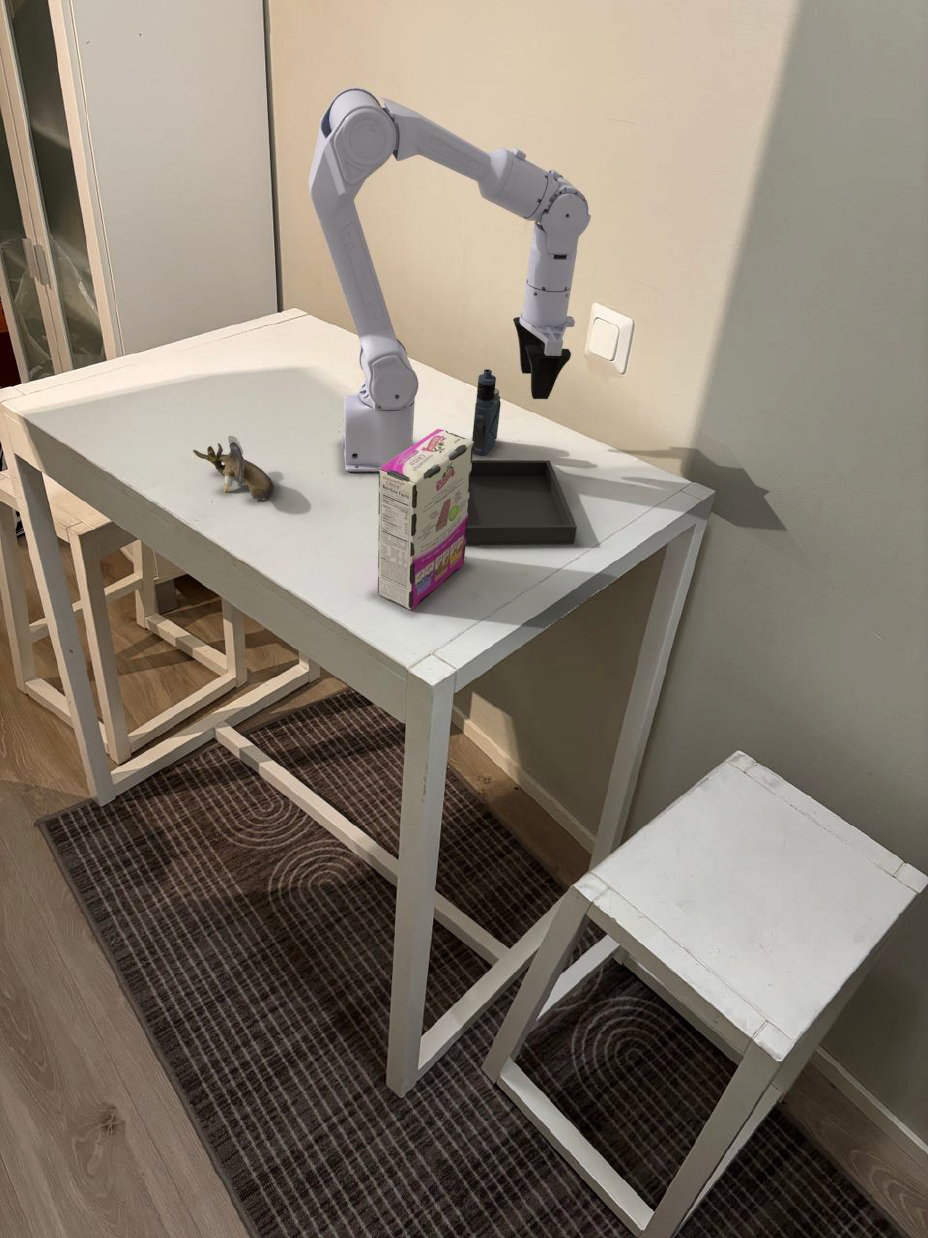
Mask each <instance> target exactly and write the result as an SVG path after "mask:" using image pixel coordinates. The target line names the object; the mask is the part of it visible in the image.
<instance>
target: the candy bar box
mask: <svg viewBox="0 0 928 1238" xmlns="http://www.w3.org/2000/svg"><path fill="white" fill-rule="evenodd" d="M473 443H474V441H472V439H468V438H466V437H462V436H460V435H458V434H456V433H452V432H449V431H448V430H445V429H441V428H437V429H435V430H434V431H431V433H429V434H428V435H426V436H425V437H423V438H422V439H420V440H419V441H417V442H416V443H414V444H413V446H411V447H410V448H408V449H407V450H405V451H404V452H402V453H401V454H399V455H398V456H396V457H395V458H393V459H392V460H390V461H389V462H387V463H386V464H384V465H383V466H381V467H380V468H379V471H378V541H377V544H378V545H377V548H378V550H377V553H378V554H377V555H378V556H377V595H378V596H379V597H381V598H383V599H384V600H387V601H390V602H392V603H393V604H394V603H395V604H397V605H398V606H400V607H402V608H405V609H407V610H409V611H412V610H414V609H415V608H416V607H417V606H419V605H420V604H421V603H422V602H423V601H425V599H427V598H428V597H429V596H430V595H431V594H432V593H433V592H434V591H435V590H437V589H438V588H439V587H440V586H441V585H442V584H443V583H444V582H446V581H447V580H448V579H449V578H451V577H452V576H453V575H454V574H455V573H456V572H457V571H459V570H460V569H461V568H462V567H464V565H465V558H466V557H465V556H466V545H465V544H466V531H467V518H468V503H469V494H470V479H471V468H472V460H473V454H474V453H473Z"/></svg>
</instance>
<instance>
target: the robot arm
mask: <svg viewBox="0 0 928 1238" xmlns="http://www.w3.org/2000/svg"><path fill="white" fill-rule="evenodd" d="M379 98H380V100H381V101H382V102H383V105H384V106H385V107H382V106H381V103H380V101H379V100H378V99H377V98H376V96H375V95H374V94H373V93H371V92H370V91H368V90H367V89H365V88H361V87H355V86H353V87H348V88H345V89H343V90H341V91H340V92H338V93H337V94H336V95H335V96H334V97H333V98H332V100H331V102H330V103H329V105H328V106H327V108H326V109H325V111H324V112H323V114H322V115H321V117H320V119H319V123H318V134H317V140H316V144H315V150H314V154H313V157H312V161H311V162H312V163H311V166H310V171H309V176H308V182H307V185H308V192H309V195H310V199H311V201H312V204H313V207H314V210H315V213H316V215H317V219H318V221H319V225H320V228H321V230H322V234H323V236H324V239H325V242H326V245H327V249H328V252H329V255H330V257H331V260H332V263H333V267H334V269H335V272H336V276H337V278H338V281H339V284H340V286H341V290H342V293H343V296H344V299H345V303H346V305H347V307H348V310H349V314H350V316H351V320H352V322H353V325H354V328H355V331H356V335H357V337H358V340H359V343H360V344H359V345H360V348H359V354H358V362H359V366H360V369H361V371H362V373H363V375H364V378H365V380H364V381H363V383H362V385H361V386H360V387H361V388H360V389H359V392H358V393H355V394H349V395H344V396H343V435H341V450H343V455H344V456H343V457H344V465H345V466H344V468H345V471H346V472H379V468H380V467H381V466H383V465H384V464H386V463H387V462H389V461H390V460H392V459H393V458H395V457H396V456H398V455H399V454H401V453H402V452H404V451H405V450H407V449H408V448H410V447H411V446H413V445H414V444H413V443H414V442H413V441H414V439H413V438H414V424H415V423H414V421H415V404H416V403H415V402H416V396H417V395H418V394H417V393H418V391H419V378H418V375H417V373H416V371H415V370H414V369H413V367H412V364H411V362H410V360H409V357H408V352H407V350H406V347H405V345H404V344H403V342H402V341H401V340H399V338H397V335H396V332H395V329H394V326H393V323H392V320H391V317H390V312H389V310H388V307H387V304H386V302H385V298H384V294H383V291H382V287H381V285H380V280H379V278H378V275H377V272H376V268H375V265H374V262H373V258H372V255H371V252H370V249H369V246H368V242H367V239H366V236H365V233H364V229H363V227H362V224H361V220H360V217H359V213H358V210H357V207H356V203H355V198H356V197H357V195H358V193H359V192H360V190H361V188H362V187H363V185H364V183H366V180H367V179H368V178H370V177H371V176H372V175H373V174H374V173H375V172H377V171H378V170H379V169H381V167H383V165H385V164H386V163H387V162H388V160H389V159H390V158H391V157H392V155H393V157H394V159H395V160H396V162H402V161H404V160H407V159H409V158H412V157H415V156H421V157H424V158H426V159H428V160H430V161H433V162H434V163H437V164H439V165H440V166H443V167H445V168H447V169H449V170H451V171H454V172H456V173H457V174H460V175H462V176H464V177H467V178H469V179H470V180H473V181H475V182H476V183H477V186H478V190H479V194H480V196H481V197H482V199H484V200H486V201H488V202H490V203H492V204H494V205H496V206H497V207H500V208H502V209H504V210H506V211H508V212H510V213H512V214H513V215H516V216H518V217H520V218H521V219H523V220H526V221H529V222H533V229H532V237H531V242H530V247H529V255H528V262H527V263H528V264H527V272H526V279H525V286H524V295H523V301H522V302H523V303H522V311H521V313H520V315H519V316H517V317H513V319H512V321H513V323H514V327H515V330H516V334H517V339H518V346H519V348H518V349H519V363H520V371H521V373H522V374H523V375H525V374H527V375H528V374H529V375H530V394H531V398H532V399H533V400H548V399H549V397H551V396H550V395H551V393H552V391H553V388H554V387H555V383H556V381H557V379H558V376H559V375H560V373H561V371H562V370H563V368H564V367H565V366H566V364H567V363H568V362H569V361H570V359H571V357H572V352H571V350H570V349H569V348H563V345H564V339H563V338H564V336H565V333H566V330H567V328H574V327H575V325H576V321H575V319H574V317H573V316H571V315H568V310H569V304H570V298H571V291H572V285H573V279H574V273H575V266H576V260H577V254H578V245H579V238H580V237H581V235H582V234H583V233H584V232H585V230H586V229H587V228H588V226H589V225H590V222H591V219H592V218H591V217H592V216H591V214H589V203H588V200H587V199H586V197H585V195H584V194H583V193H582V192H581V191H580V190H579V189H578V188H577V187H576V186H574V184H572V183H571V182H570V181H569V180H568V179H566V178H564V176H563V175H562V174H560V173H559V172H558V171H556V170H554V169H553V168H550V169H549V170H548V171H547V170H545V169H543V168H542V167H540V166H538V165H536V164H534V163H533V162H531V161H529V160H527V159H526V158H527V154H526V153H524V151H522V150H521V149H519V148H517V147H513V149H512V151H511V150H509V149H507V148H499V149H497V150H493V151H490V152H486V151H484V150H483V149H481V148H479V147H477V146H476V145H474V144H473V143H471V142H469V141H467V140H465V139H464V138H462V137H460V136H459V135H457V134H455V133H453V132H451V131H450V130H449V129H447V128H445V127H443V126H442V125H440V124H438V123H436V122H435V121H433V120H431V119H429V118H428V117H426V116H424V115H422V114H421V113H419V112H417V111H416V110H413V109H411V108H409V107H407V106H404V105H402V104H400V103H398V102H396V101H393V100H392V99H389V98H386V97H383V96H380V97H379Z"/></svg>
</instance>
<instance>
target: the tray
mask: <svg viewBox="0 0 928 1238" xmlns="http://www.w3.org/2000/svg"><path fill="white" fill-rule="evenodd" d="M577 529H578V526H577V524H576V522H575V519H574V517H573V514H572V512H571V510H570V507H569V504H568V501H567V499H566V497H565V495H564V493H563V490H562V487H561V485H560V482H559V479H558V477H557V475H556V472H555V469H554V467H553V465H552V462H551V460H549V459H547V460H546V459H545V460H543V459H542V460H541V459H539V460H537V459H536V460H535V459H534V460H533V459H530V460H529V459H528V460H527V459H526V460H524V459H523V460H522V459H521V460H519V459H518V460H517V459H509V460H508V459H472V468H471V479H470V494H469V503H468V518H467V531H466V544H465V546H505V545H506V546H521V545H525V546H526V545H527V546H529V545H530V546H532V545H574V544H575V539H576V536H577V535H576V533H577Z"/></svg>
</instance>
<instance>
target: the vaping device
mask: <svg viewBox="0 0 928 1238" xmlns="http://www.w3.org/2000/svg"><path fill="white" fill-rule="evenodd" d="M496 383H497V377H496V376H495V375H494V374H493V370H492V369H489V368H486V369H484V370H483V373H482V374H479V375H478V378H477V388H476V397H475V399H476V400H475V405H474V417H473V425H472V438H471V441H474V443H473V454H476V455H478V456H479V455H480V456H486V455H488V454H489V452H490V451H491V450H492V449H493V448H494V446H495V445H496V440H497V439H498V431H499V421H500V413H501V396H500V389H498V388H496Z"/></svg>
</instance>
